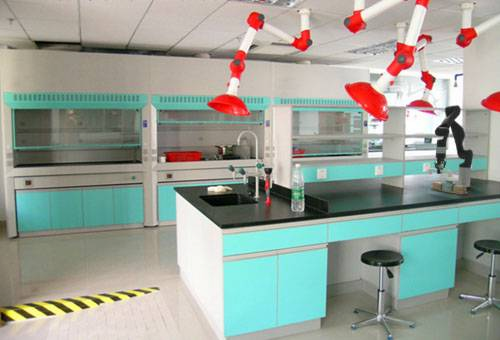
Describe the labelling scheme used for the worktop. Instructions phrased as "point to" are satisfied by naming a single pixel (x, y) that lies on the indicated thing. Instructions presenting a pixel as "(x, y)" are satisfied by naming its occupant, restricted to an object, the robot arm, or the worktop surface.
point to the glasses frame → (440, 171)
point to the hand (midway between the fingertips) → (439, 173)
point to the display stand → (449, 187)
